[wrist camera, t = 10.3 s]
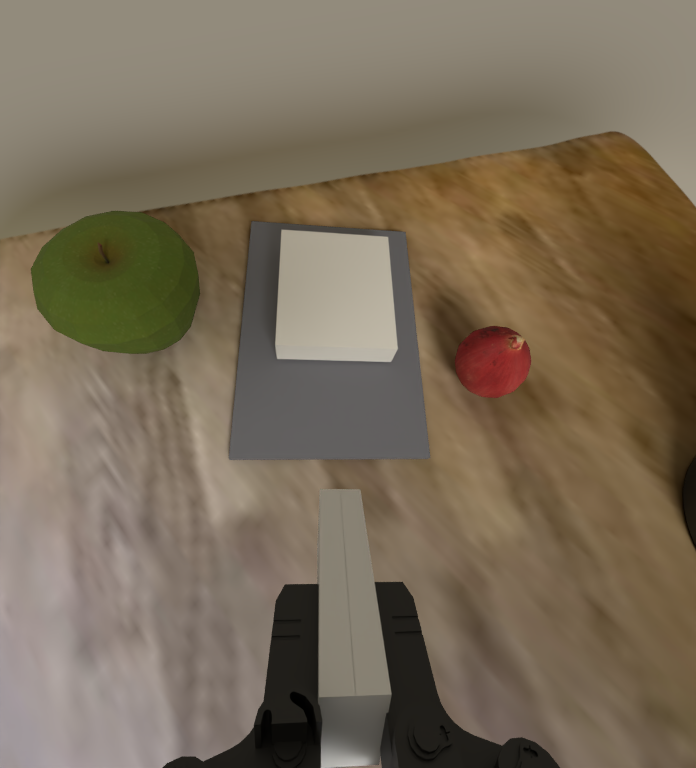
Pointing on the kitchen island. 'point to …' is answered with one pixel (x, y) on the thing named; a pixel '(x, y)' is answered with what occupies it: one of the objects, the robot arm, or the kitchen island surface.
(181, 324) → the apple
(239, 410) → the mat
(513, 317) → the kitchen island surface
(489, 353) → the red pomegranate
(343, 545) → the robot arm
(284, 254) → the tile
